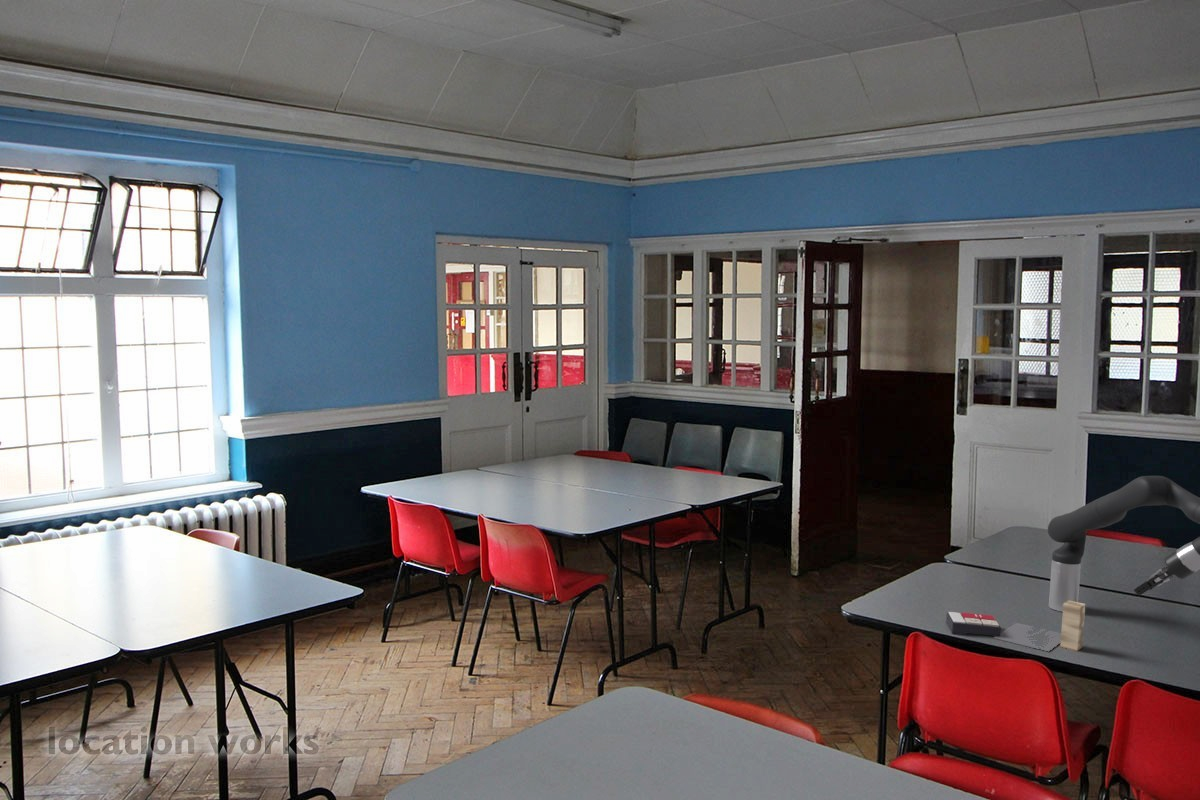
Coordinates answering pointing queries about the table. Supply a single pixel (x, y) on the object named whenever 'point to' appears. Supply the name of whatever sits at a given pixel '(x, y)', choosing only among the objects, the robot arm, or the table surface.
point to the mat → (1019, 632)
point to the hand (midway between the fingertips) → (1137, 591)
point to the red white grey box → (972, 624)
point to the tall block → (1072, 625)
